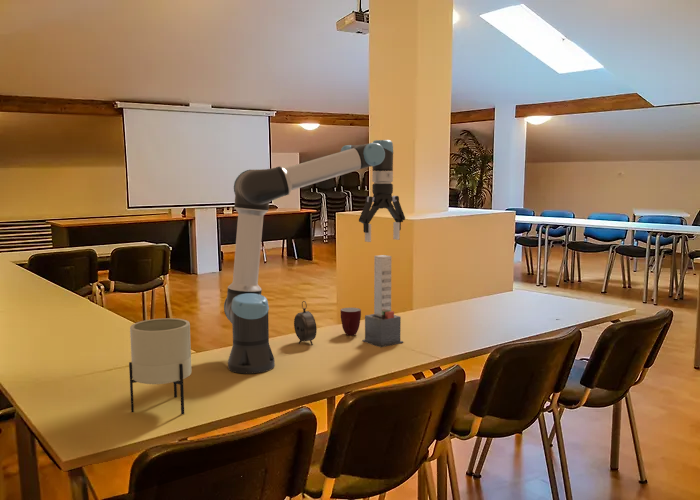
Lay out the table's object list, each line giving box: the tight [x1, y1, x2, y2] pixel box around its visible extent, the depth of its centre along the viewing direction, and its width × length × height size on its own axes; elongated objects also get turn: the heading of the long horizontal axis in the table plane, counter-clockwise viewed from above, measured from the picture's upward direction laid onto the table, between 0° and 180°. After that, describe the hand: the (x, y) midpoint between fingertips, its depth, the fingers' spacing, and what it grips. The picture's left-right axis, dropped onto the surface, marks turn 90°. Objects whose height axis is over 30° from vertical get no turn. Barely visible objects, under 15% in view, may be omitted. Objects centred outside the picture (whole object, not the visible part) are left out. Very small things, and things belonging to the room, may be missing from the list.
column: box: [373, 254, 392, 319], centre depth 228 cm, size 4×5×24 cm
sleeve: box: [361, 310, 404, 348], centre depth 230 cm, size 11×11×12 cm
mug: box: [340, 307, 362, 337], centre depth 241 cm, size 10×8×10 cm
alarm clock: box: [293, 300, 318, 346], centre depth 229 cm, size 11×5×16 cm, turn 31°
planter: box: [128, 317, 192, 415], centre depth 164 cm, size 15×16×23 cm
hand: (382, 240), depth 227 cm, fingers open, 13 cm apart
